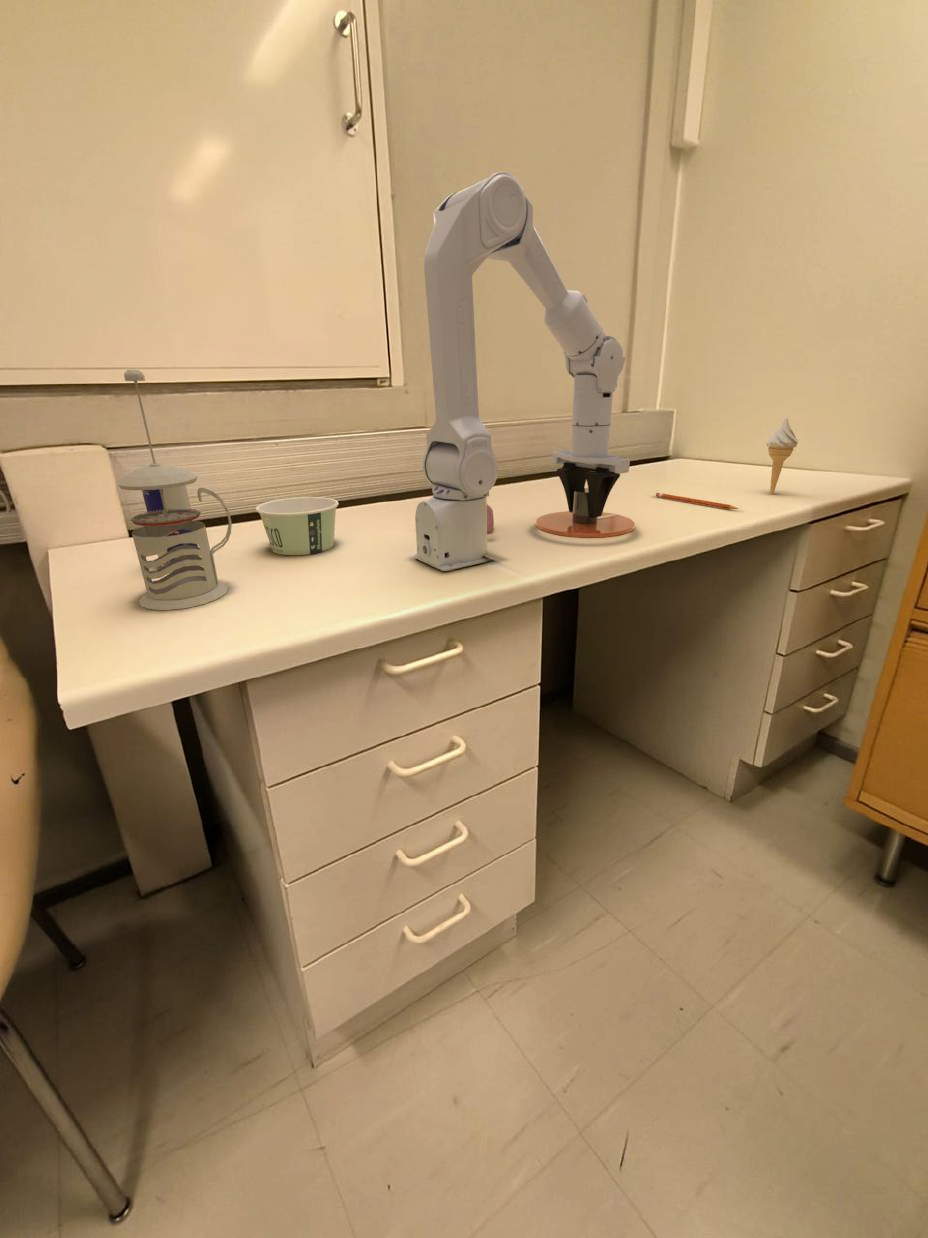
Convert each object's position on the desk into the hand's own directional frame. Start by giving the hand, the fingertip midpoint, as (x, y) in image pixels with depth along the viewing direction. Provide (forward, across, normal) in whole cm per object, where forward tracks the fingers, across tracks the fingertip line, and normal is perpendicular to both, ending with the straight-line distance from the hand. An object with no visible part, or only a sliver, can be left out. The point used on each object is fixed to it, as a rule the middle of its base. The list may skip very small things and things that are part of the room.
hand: (585, 514), depth 91 cm
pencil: (+3, +2, -32) cm, 32 cm away
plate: (+2, 0, 0) cm, 2 cm away
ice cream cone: (+3, -2, -52) cm, 52 cm away
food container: (+3, +20, +40) cm, 45 cm away
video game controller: (+3, +10, +17) cm, 20 cm away
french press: (+3, +8, +58) cm, 59 cm away
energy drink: (+3, +22, +57) cm, 61 cm away
